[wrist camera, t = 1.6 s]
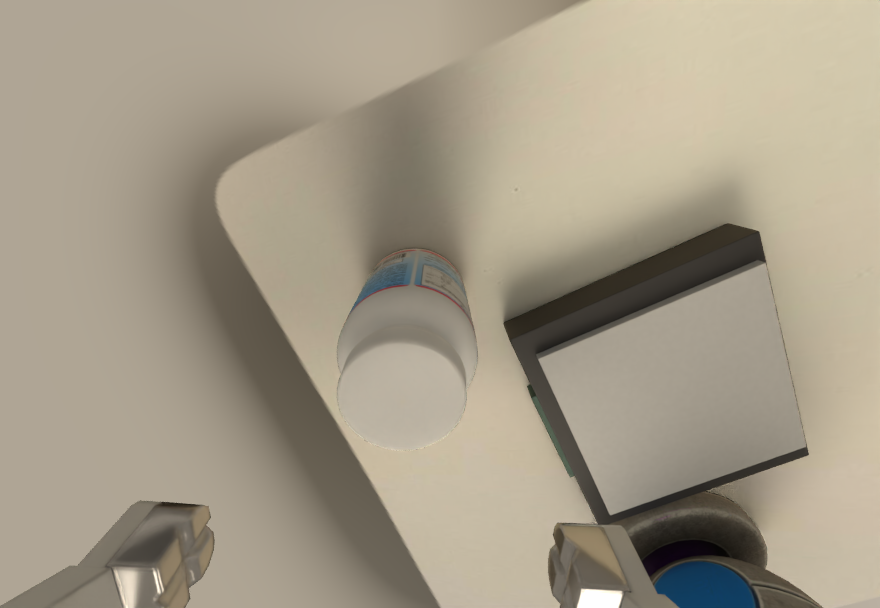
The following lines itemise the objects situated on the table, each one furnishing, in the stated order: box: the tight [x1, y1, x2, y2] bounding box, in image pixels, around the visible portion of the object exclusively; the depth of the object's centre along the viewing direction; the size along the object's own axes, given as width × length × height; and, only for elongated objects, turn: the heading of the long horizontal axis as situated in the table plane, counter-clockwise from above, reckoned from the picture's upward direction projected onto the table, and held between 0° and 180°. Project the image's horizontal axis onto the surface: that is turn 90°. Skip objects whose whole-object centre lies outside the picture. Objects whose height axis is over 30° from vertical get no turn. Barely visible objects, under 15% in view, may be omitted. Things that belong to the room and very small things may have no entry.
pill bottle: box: [337, 248, 478, 451], centre depth 20 cm, size 6×6×11 cm
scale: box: [504, 224, 809, 525], centre depth 26 cm, size 16×14×3 cm
